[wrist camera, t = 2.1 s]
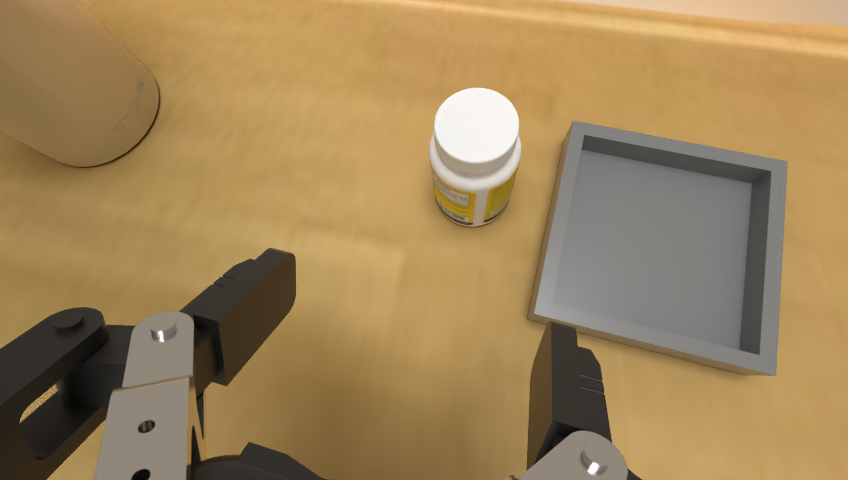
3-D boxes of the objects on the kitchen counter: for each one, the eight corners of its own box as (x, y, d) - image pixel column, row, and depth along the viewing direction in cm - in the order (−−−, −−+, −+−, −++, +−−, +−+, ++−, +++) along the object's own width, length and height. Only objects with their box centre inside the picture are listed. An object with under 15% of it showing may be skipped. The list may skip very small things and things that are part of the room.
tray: (526, 319, 26) (534, 313, 23) (563, 141, 29) (573, 120, 26) (744, 375, 24) (775, 375, 22) (758, 179, 27) (787, 161, 25)
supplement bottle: (503, 156, 29) (521, 74, 21) (514, 223, 27) (537, 163, 19) (431, 164, 29) (421, 86, 21) (438, 232, 28) (430, 175, 20)
